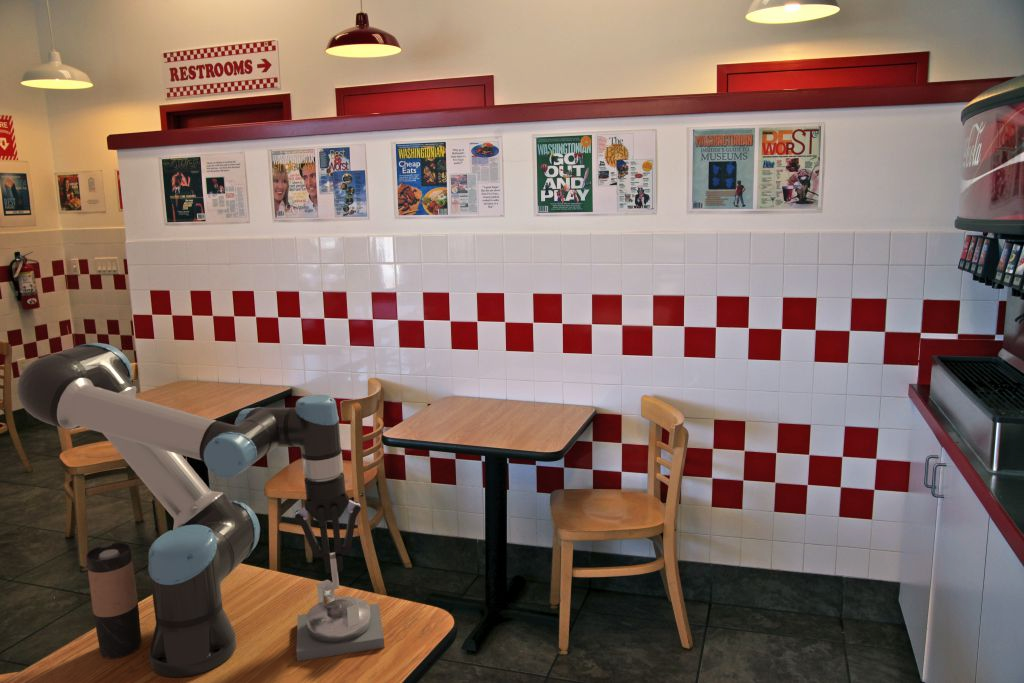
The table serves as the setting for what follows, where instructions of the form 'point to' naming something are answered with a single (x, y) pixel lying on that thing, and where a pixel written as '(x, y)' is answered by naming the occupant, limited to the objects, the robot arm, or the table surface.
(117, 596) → the travel mug
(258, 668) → the table surface
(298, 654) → the gray square base plate
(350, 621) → the silver metal dome
